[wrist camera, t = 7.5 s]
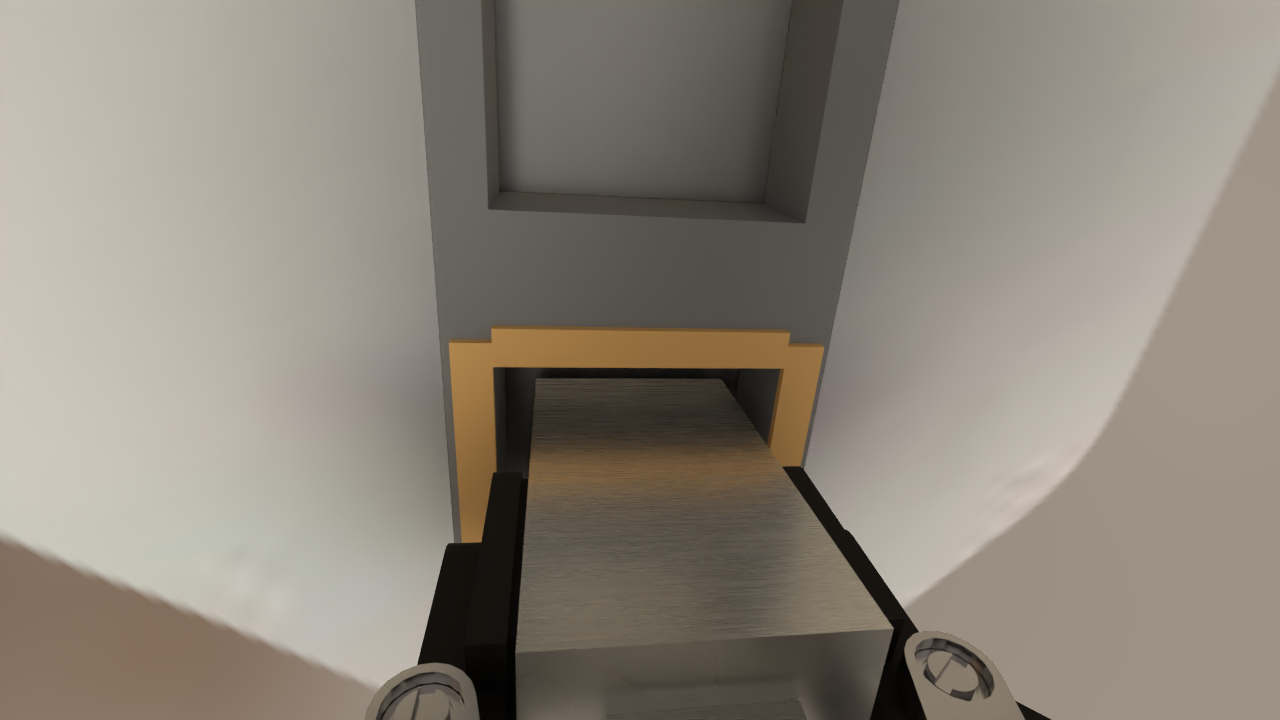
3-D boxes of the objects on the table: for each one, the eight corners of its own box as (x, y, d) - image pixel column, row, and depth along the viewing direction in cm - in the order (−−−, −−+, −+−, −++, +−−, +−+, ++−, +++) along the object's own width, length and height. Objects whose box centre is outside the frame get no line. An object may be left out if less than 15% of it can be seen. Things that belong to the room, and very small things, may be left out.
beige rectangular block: (536, 378, 14) (513, 675, 6) (720, 378, 15) (907, 648, 7) (536, 537, 15) (519, 932, 8) (703, 531, 16) (840, 890, 8)
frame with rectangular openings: (427, -239, 10) (386, -351, 8) (868, -172, 11) (956, -250, 9) (473, 555, 17) (459, 634, 14) (746, 544, 18) (777, 615, 15)
